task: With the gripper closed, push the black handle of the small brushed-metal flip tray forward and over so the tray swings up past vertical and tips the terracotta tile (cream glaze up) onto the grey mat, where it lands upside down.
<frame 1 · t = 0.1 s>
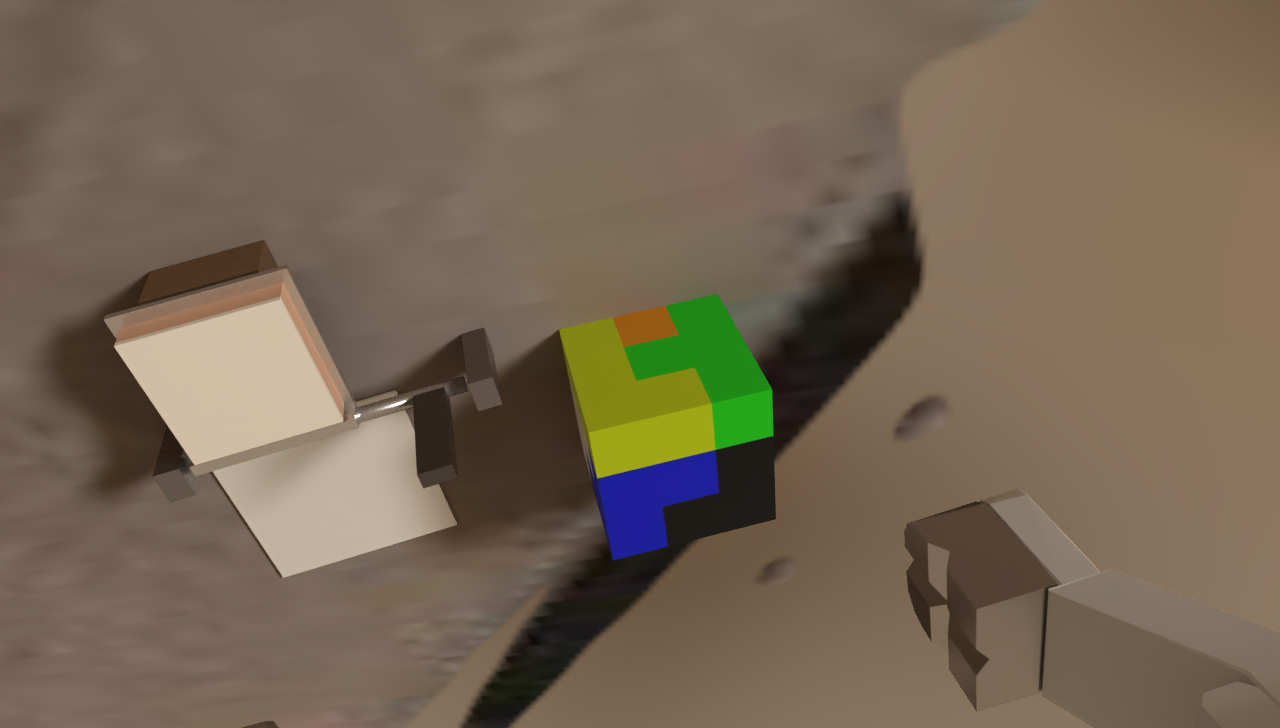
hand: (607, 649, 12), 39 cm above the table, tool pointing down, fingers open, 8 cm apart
tile: (239, 368, 47), point 4 cm above the table, touching flipper
mat: (336, 487, 58), on the table
flipper: (293, 393, 46), point 7 cm above the table, hinge at 0.0°, touching tile
puzzle toy: (646, 373, 59), on the table
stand: (287, 399, 54), on the table
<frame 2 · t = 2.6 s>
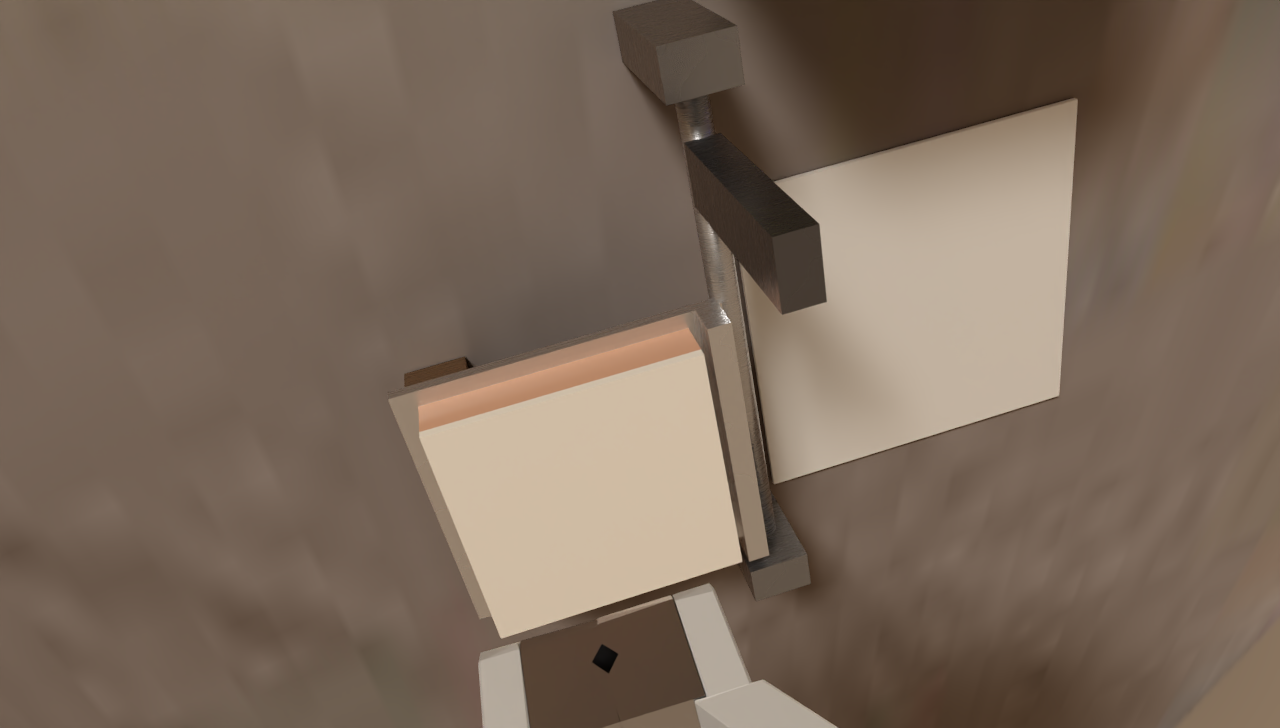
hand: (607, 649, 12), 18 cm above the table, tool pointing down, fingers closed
tile: (586, 473, 28), point 4 cm above the table, touching flipper
mat: (911, 304, 33), on the table
flipper: (601, 449, 24), point 7 cm above the table, hinge at 0.0°, touching tile
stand: (712, 363, 32), on the table
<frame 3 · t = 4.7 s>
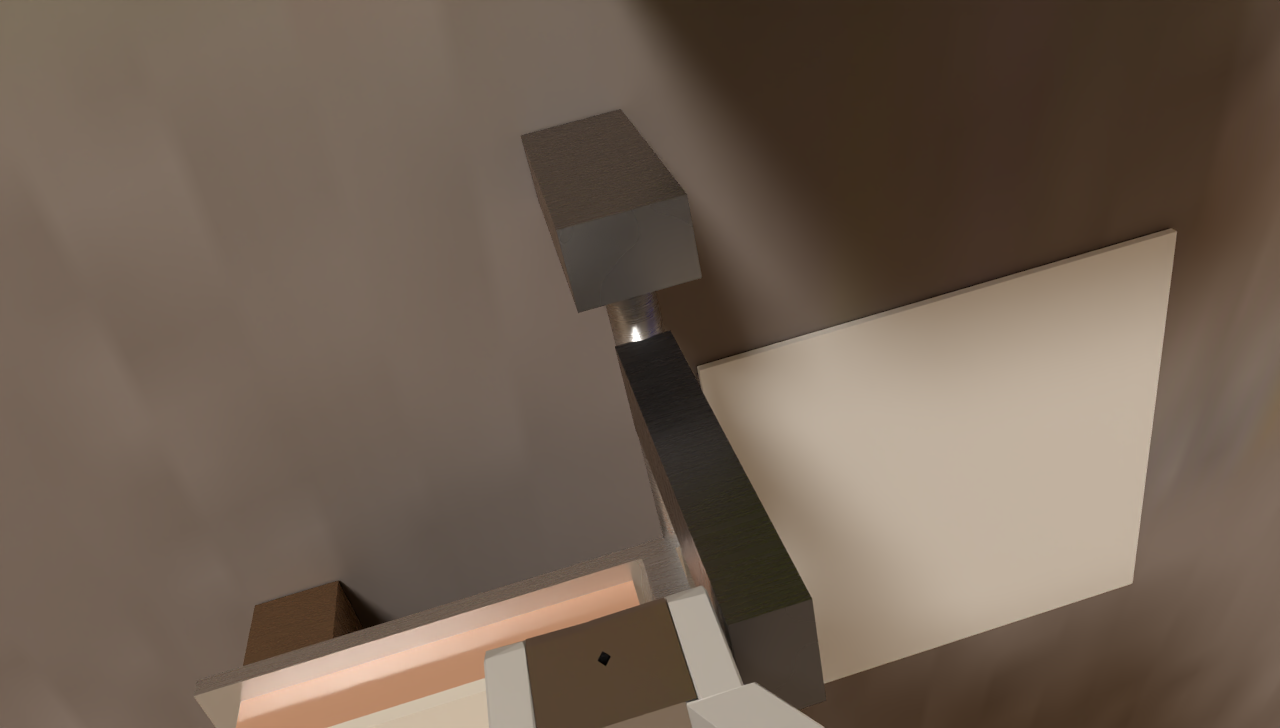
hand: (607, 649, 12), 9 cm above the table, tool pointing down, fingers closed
mat: (944, 488, 25), on the table
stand: (679, 570, 24), on the table
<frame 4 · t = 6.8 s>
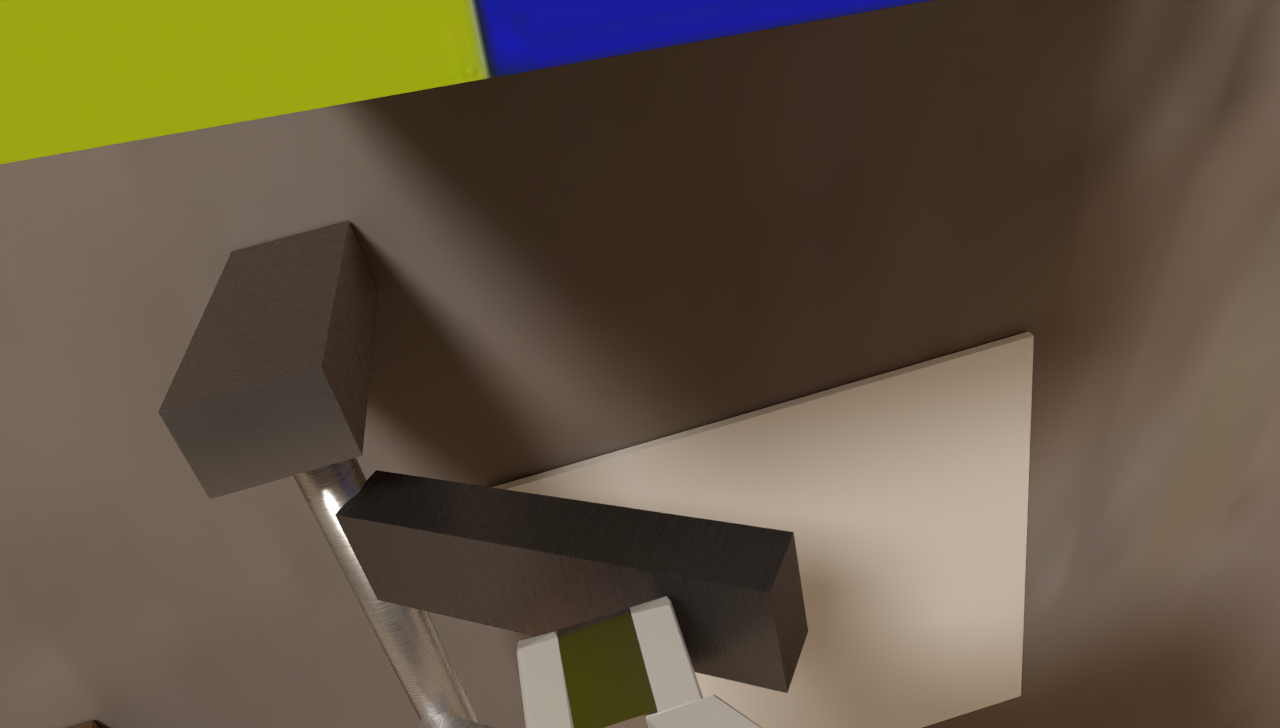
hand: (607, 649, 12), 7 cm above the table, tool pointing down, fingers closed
mat: (793, 606, 22), on the table
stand: (494, 697, 22), on the table
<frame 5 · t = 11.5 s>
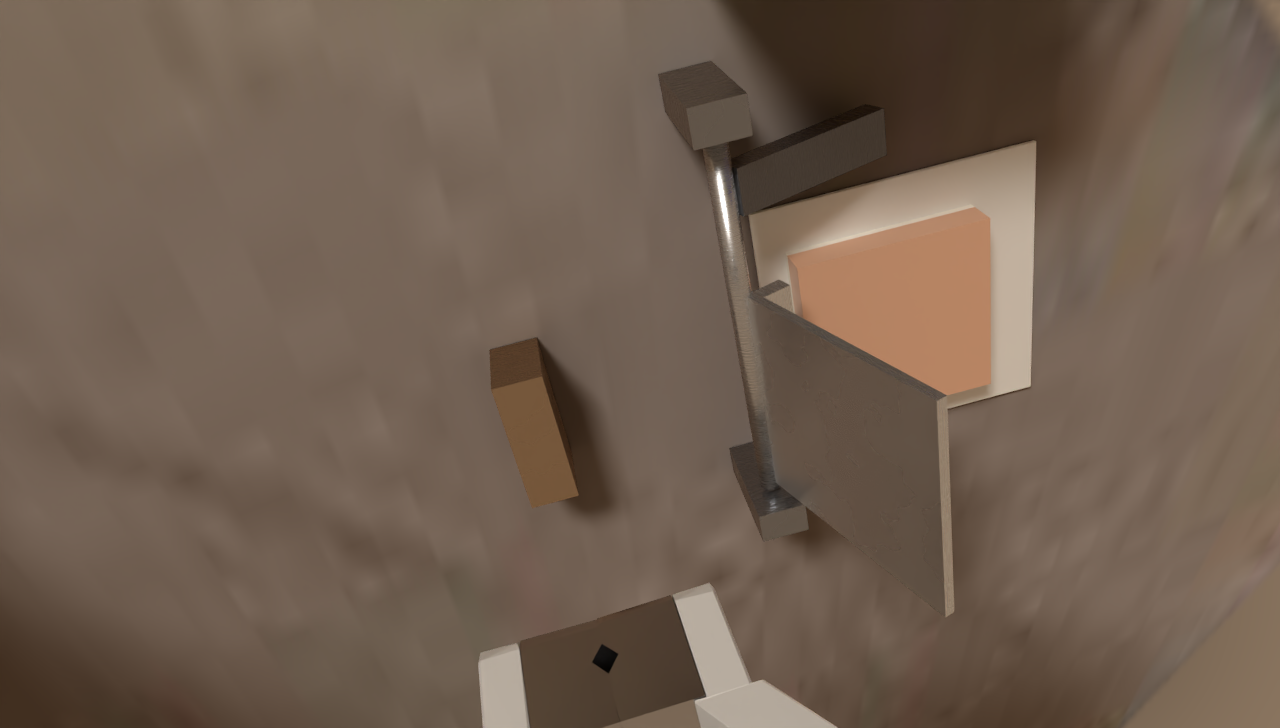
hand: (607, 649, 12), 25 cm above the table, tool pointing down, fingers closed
tile: (899, 329, 38), point 2 cm above the table, tilted 180°, touching mat
mat: (899, 306, 40), on the table
flipper: (897, 340, 32), point 7 cm above the table, hinge at 110.0°
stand: (734, 349, 40), on the table
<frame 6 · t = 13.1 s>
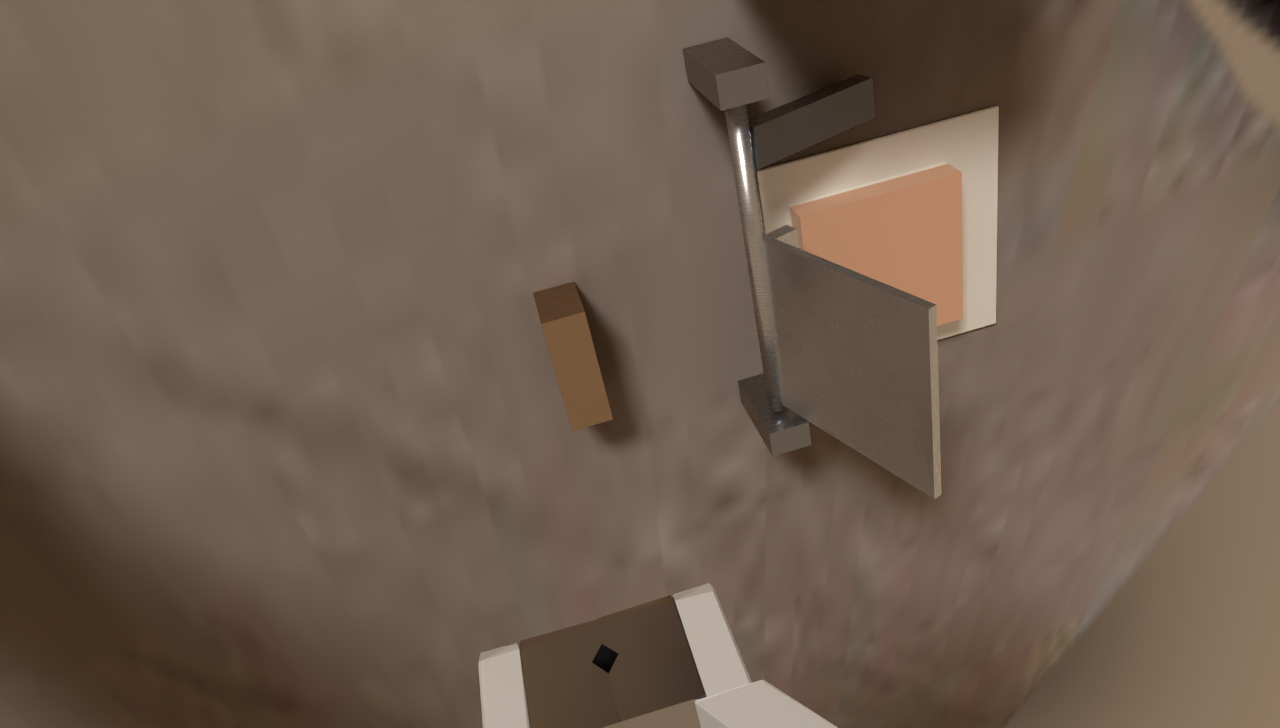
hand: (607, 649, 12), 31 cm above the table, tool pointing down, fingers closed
tile: (885, 270, 44), point 2 cm above the table, tilted 180°, touching mat
mat: (884, 252, 46), on the table
flipper: (889, 271, 39), point 7 cm above the table, hinge at 110.0°
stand: (743, 291, 45), on the table
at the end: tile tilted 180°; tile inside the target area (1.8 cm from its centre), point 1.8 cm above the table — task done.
